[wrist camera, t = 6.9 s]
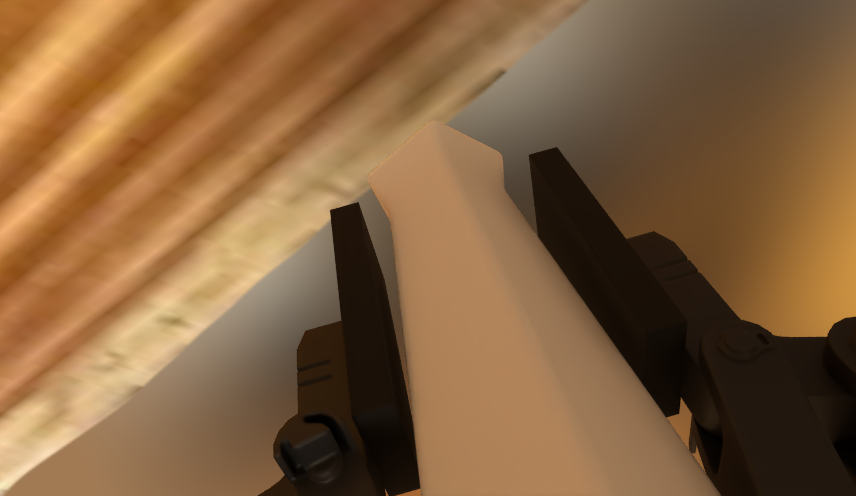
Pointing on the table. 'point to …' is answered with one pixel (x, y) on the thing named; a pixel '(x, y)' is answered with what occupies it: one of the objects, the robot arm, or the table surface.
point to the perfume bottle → (510, 345)
